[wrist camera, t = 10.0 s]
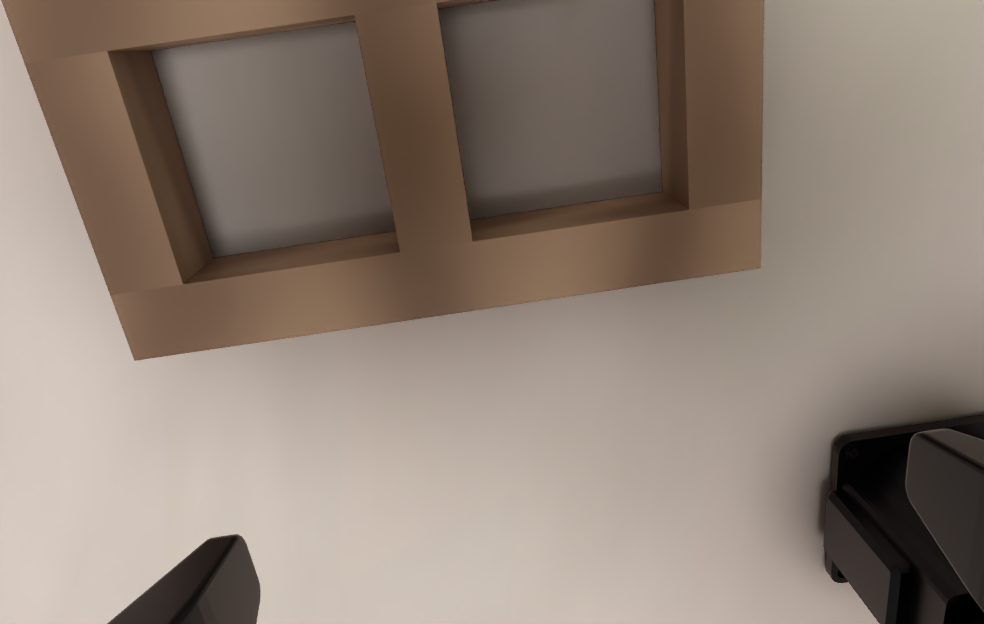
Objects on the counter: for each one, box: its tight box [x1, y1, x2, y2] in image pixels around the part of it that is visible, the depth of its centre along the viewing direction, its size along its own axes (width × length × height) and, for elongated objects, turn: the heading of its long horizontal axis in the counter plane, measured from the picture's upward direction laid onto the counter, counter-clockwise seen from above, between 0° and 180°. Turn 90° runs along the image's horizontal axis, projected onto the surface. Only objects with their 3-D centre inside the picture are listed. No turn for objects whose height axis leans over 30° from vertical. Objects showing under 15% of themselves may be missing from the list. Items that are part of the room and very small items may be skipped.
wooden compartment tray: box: [1, 0, 764, 360], centre depth 18 cm, size 18×10×2 cm, turn 98°
